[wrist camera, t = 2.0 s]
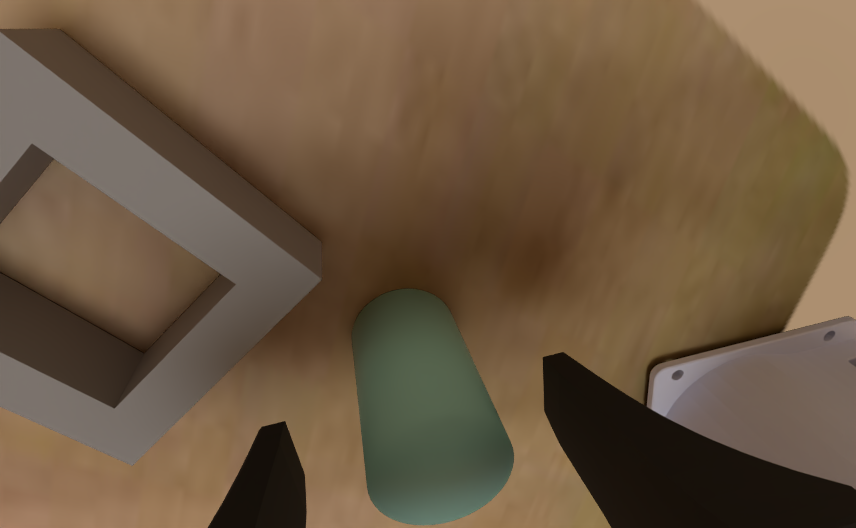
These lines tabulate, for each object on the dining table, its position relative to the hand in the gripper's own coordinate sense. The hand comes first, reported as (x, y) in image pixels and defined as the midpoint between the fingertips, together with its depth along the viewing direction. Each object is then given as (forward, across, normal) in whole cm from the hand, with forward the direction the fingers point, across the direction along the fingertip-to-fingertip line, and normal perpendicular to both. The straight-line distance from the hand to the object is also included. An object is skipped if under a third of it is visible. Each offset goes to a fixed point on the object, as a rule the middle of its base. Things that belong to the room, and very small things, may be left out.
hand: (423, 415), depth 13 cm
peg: (+4, 0, 0) cm, 4 cm away
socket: (+4, +7, -5) cm, 10 cm away
